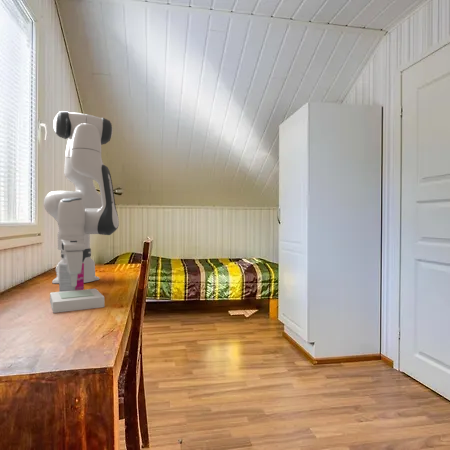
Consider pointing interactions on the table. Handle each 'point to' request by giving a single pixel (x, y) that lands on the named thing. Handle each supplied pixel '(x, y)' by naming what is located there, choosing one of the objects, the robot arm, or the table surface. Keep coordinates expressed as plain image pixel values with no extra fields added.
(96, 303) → the dock
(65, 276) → the supplement box
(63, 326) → the table surface
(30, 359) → the table surface
